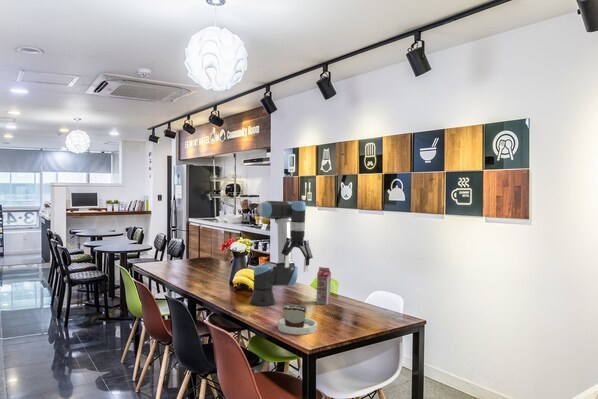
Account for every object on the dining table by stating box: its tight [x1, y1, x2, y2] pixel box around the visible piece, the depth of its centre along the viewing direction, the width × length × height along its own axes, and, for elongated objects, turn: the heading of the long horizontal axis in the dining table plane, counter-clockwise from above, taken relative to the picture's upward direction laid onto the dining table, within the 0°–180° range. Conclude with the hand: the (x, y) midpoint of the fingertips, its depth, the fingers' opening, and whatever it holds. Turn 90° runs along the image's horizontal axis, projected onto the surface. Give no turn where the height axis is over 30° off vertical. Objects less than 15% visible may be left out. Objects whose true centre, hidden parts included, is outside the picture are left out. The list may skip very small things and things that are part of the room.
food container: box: [282, 304, 308, 328], centre depth 213 cm, size 12×6×10 cm, turn 73°
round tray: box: [277, 317, 318, 336], centre depth 213 cm, size 19×19×3 cm
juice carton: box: [315, 266, 332, 306], centre depth 266 cm, size 7×7×22 cm
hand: (296, 269), depth 231 cm, fingers open, 13 cm apart
